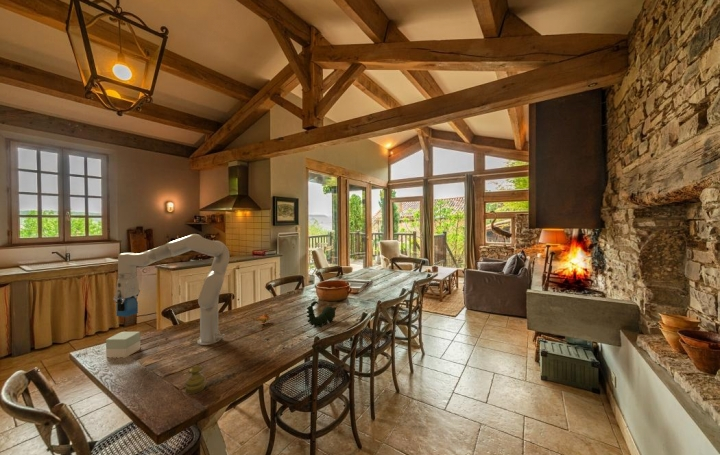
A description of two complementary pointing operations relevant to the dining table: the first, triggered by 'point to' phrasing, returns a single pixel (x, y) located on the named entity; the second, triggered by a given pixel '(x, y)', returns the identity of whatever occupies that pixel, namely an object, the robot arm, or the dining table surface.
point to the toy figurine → (326, 315)
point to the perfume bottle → (128, 307)
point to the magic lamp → (263, 317)
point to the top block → (122, 340)
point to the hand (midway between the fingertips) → (127, 308)
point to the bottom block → (123, 351)
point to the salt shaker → (195, 380)
